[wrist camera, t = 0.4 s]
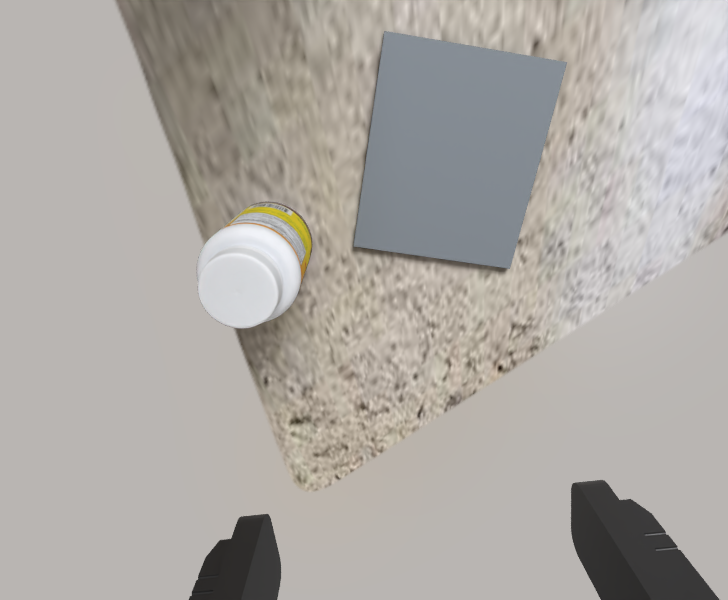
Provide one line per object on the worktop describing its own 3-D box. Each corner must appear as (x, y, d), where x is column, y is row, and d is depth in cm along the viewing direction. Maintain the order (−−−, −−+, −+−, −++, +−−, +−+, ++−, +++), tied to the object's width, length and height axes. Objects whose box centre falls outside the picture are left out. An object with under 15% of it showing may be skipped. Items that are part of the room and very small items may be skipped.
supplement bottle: (262, 291, 33) (224, 361, 24) (216, 225, 32) (155, 272, 22) (329, 254, 32) (316, 312, 23) (285, 183, 31) (252, 214, 21)
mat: (384, 32, 27) (384, 31, 27) (563, 63, 28) (567, 62, 28) (353, 244, 32) (353, 246, 32) (507, 266, 33) (509, 268, 32)
